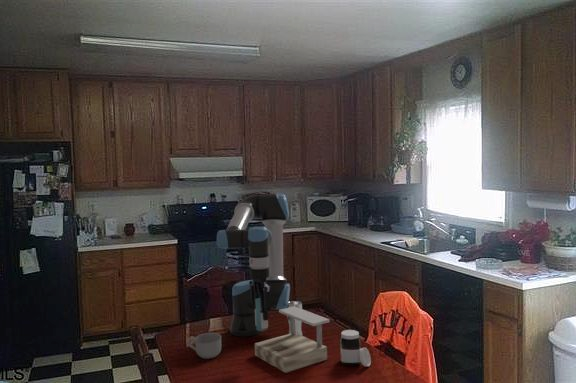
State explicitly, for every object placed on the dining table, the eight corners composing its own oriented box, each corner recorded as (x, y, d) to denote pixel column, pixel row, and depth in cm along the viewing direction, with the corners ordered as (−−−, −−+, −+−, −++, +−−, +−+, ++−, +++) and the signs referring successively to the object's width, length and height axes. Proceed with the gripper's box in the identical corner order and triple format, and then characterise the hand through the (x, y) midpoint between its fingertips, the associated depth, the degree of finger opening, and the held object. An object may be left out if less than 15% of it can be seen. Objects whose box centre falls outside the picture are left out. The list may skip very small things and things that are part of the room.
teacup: (226, 352, 207) (225, 333, 207) (214, 362, 197) (213, 342, 197) (197, 349, 212) (196, 331, 211) (183, 359, 202) (182, 339, 201)
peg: (254, 328, 195) (253, 298, 194) (263, 326, 197) (262, 296, 196) (259, 331, 191) (258, 300, 191) (268, 329, 193) (267, 299, 193)
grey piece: (279, 335, 211) (278, 309, 210) (295, 331, 215) (294, 306, 215) (314, 351, 191) (313, 323, 190) (330, 346, 195) (329, 319, 195)
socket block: (255, 355, 203) (254, 343, 203) (295, 343, 214) (294, 332, 214) (285, 372, 185) (284, 359, 184) (327, 359, 196) (326, 346, 196)
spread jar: (340, 357, 197) (339, 328, 197) (368, 356, 197) (367, 328, 196) (342, 370, 185) (341, 339, 185) (372, 369, 185) (371, 338, 184)
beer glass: (301, 338, 220) (300, 305, 219) (286, 338, 221) (285, 305, 221) (304, 333, 227) (303, 301, 226) (289, 332, 228) (288, 300, 227)
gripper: (240, 265, 198) (243, 322, 199) (261, 272, 184) (264, 334, 185) (257, 262, 202) (259, 319, 203) (279, 269, 188) (281, 330, 189)
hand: (261, 326), depth 194 cm, fingers closed on peg, 4 cm apart
